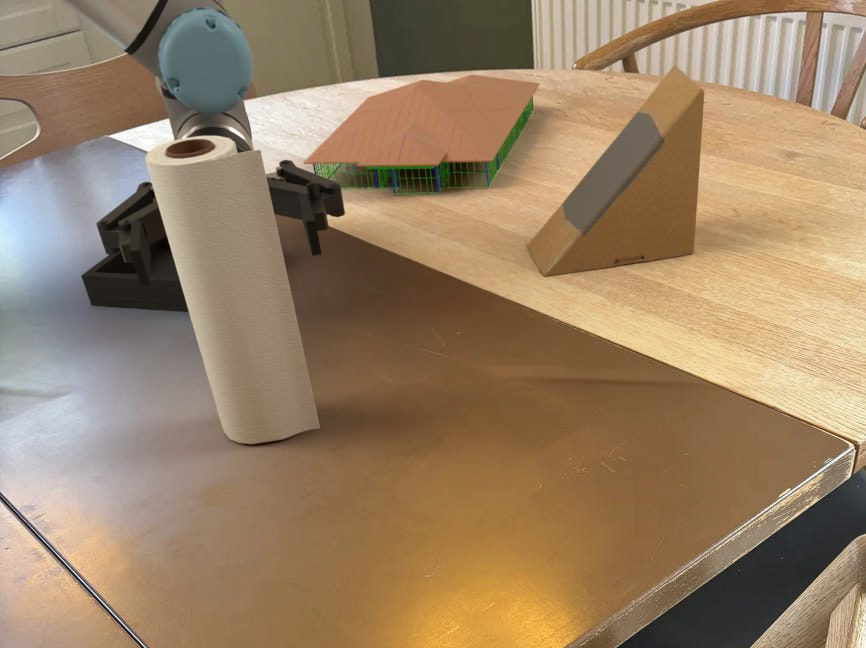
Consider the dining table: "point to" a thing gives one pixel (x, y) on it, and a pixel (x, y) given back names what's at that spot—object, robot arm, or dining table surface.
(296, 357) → the paper towel roll
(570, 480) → the dining table surface
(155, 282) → the roll dock
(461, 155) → the house
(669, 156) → the sandwich container
